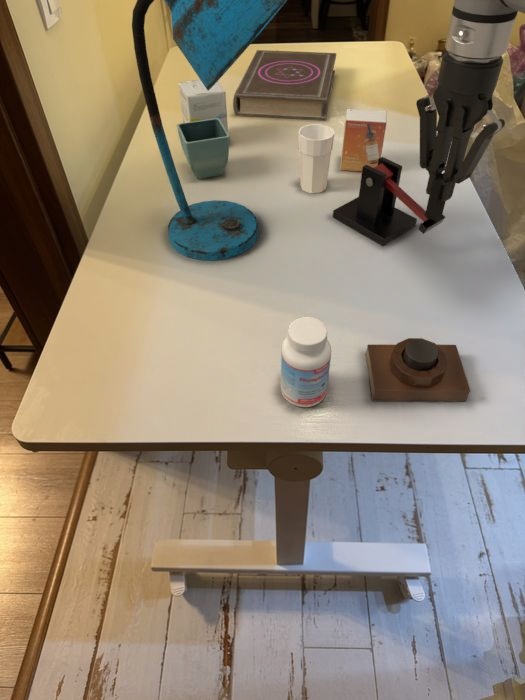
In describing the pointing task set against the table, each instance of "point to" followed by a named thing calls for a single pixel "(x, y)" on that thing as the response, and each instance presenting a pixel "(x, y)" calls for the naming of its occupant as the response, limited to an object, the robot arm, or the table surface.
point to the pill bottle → (305, 362)
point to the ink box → (202, 102)
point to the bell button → (420, 355)
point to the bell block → (415, 375)
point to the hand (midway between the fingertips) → (433, 214)
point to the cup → (315, 156)
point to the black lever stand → (376, 206)
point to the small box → (362, 139)
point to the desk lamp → (210, 65)
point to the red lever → (409, 202)
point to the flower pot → (205, 146)
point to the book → (286, 85)
